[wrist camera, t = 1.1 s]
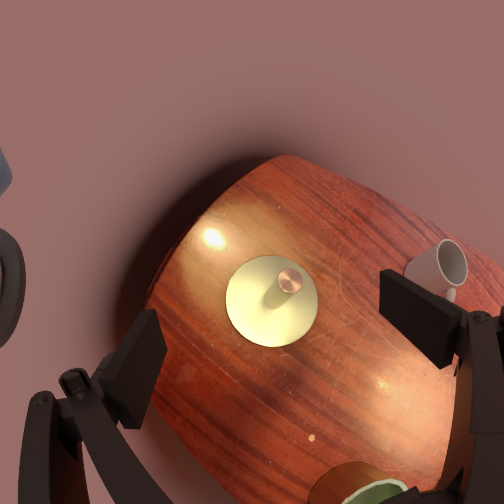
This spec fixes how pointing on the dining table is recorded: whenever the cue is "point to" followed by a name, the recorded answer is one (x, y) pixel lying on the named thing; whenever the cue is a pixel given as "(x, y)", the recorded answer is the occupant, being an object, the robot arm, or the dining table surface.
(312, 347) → the dining table surface
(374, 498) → the round metal container
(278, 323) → the lid
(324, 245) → the dining table surface
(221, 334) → the dining table surface
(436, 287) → the cup
